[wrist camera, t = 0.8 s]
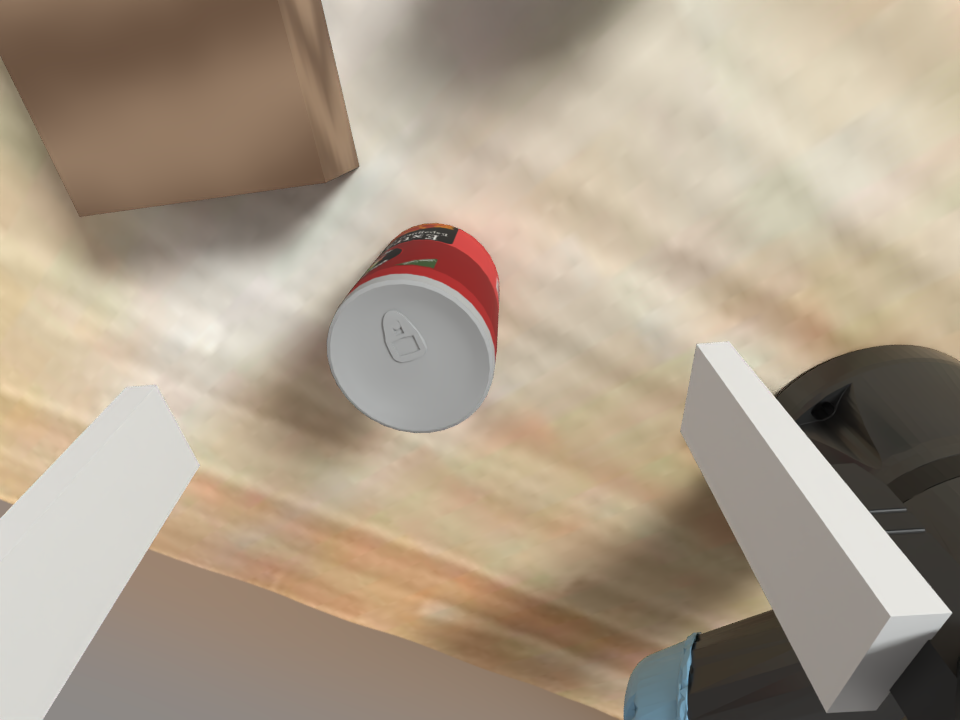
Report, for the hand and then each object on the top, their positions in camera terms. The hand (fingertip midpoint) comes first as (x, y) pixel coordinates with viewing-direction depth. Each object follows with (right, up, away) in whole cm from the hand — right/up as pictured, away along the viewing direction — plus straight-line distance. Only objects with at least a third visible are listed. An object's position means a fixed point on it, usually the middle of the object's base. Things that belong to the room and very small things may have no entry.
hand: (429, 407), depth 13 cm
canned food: (-1, +6, +20) cm, 21 cm away
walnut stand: (-13, +18, +14) cm, 26 cm away
